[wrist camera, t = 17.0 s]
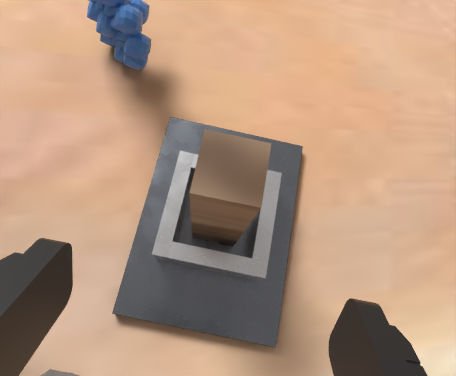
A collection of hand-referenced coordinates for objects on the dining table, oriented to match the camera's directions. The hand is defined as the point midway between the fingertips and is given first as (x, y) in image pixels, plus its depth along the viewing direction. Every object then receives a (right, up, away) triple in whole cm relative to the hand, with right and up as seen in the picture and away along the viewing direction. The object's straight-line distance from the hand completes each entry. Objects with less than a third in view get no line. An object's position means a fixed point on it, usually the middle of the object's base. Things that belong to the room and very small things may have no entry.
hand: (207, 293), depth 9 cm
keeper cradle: (-1, -1, +26) cm, 26 cm away
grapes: (-12, +20, +32) cm, 40 cm away
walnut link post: (-1, 0, +25) cm, 25 cm away
